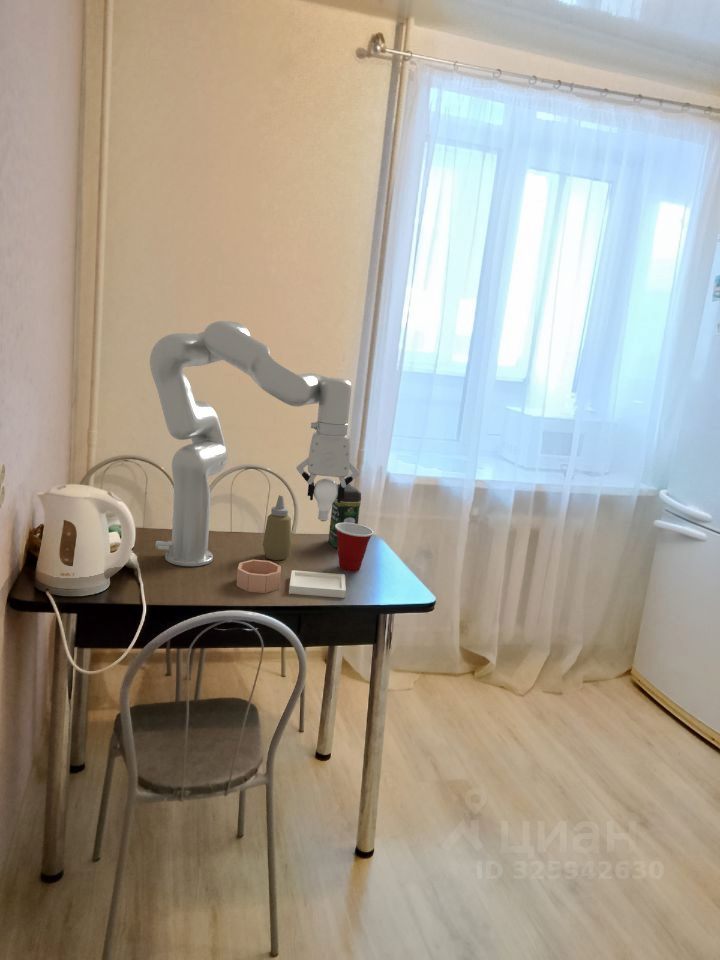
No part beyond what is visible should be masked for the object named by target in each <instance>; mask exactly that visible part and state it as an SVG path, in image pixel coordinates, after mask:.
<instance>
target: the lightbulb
mask: <svg viewBox="0 0 720 960" xmlns="http://www.w3.org/2000/svg"><path fill="white" fill-rule="evenodd" d="M338 492H339V488H338V483H337V482H335V480H333V479H332V478H327V477H325V478H321V479H319V480H317V481H316V482H315V483H314V492H313V498H314V499H315V501H316V502H317V508H318V515H317V519H318V520H319V521H321V522H323V523H324V522H326V521H328V520H329V519H330V510H332V504H333V502H334V501H335V500H336V498H337V497H338Z"/></svg>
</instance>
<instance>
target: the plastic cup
mask: <svg viewBox="0 0 720 960" xmlns="http://www.w3.org/2000/svg"><path fill="white" fill-rule="evenodd" d="M335 528H336V531H337V542H338V548H337V556H338V566H339V569H340V570H341V571H344V572H350V573H352V572H353V573H356V572H358V571H360V570H361V567H362V564H363V560H364V557H365V554H366V551H367V548H368V545H369V544H368V543H369V541H370V540H371V537H372V536H373V535H374V530H373V529H372V528H370V527H369V526H365V525H363V524H359V523H358V524H355V523H345V522H344V523H338V524H336V525H335Z"/></svg>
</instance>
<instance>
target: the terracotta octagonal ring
mask: <svg viewBox="0 0 720 960" xmlns="http://www.w3.org/2000/svg"><path fill="white" fill-rule="evenodd" d="M281 574H282V566H281V565H280V564H278V563H276V562H274V561H272V560H264V559H263V560H260V559H249V560H246V561H241V562H239V564H238V567H237V571H236V586H237V587H238V588H239V589H242V590H244V591H246V592H250V593H260V594H261V593H264V594H266V593H269V592H273V591H276V590H279V588H280V583H281Z"/></svg>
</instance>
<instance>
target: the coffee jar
mask: <svg viewBox="0 0 720 960" xmlns="http://www.w3.org/2000/svg"><path fill="white" fill-rule="evenodd" d="M337 485H338V488H339V485H340V483H339V484H338V483H337ZM337 499H338V497H337V498H336V500H335V501H334V502H333V504H332V506H331V514H330V521H329V522H330V524H329V533H328V541H329V543H330V545H331V546H333V547H334V548H336V549H338V542H337V531H336V528H335V525H336V524H338V523H344V522H345V523H355V524H359V516H360V507H361V504H362V503H361V502H362V492H361V491H360V490H359V489H358V488H357V487H354V486H353V485H352V484H351V483H349V484H348V485H347V486H346V487H345V489H344V498H343V499H341V502H340V503H338V501H337Z"/></svg>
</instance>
